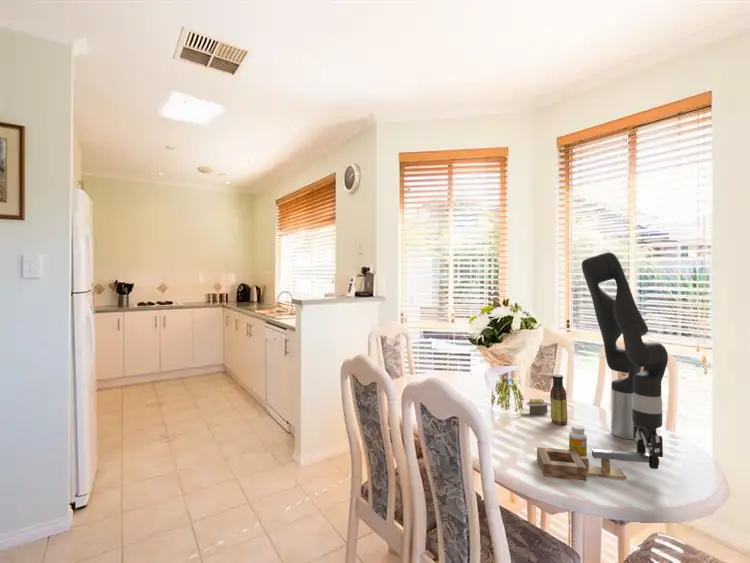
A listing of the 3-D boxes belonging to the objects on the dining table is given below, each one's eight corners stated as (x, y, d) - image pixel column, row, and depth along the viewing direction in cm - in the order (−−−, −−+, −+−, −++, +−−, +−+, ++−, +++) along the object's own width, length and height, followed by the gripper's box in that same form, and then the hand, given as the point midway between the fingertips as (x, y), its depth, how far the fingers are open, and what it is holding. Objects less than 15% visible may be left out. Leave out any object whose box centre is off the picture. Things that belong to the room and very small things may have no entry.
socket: (576, 462, 131) (576, 450, 131) (586, 481, 119) (586, 467, 119) (537, 458, 134) (537, 447, 134) (543, 476, 122) (543, 463, 122)
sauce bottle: (564, 420, 168) (564, 373, 168) (570, 425, 162) (569, 377, 162) (548, 419, 169) (548, 373, 169) (553, 425, 163) (553, 377, 162)
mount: (620, 471, 125) (620, 457, 125) (626, 479, 120) (626, 464, 120) (578, 467, 128) (578, 453, 128) (583, 475, 123) (583, 461, 123)
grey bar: (653, 459, 122) (654, 452, 122) (659, 464, 119) (659, 458, 119) (591, 454, 126) (591, 447, 126) (594, 459, 123) (594, 452, 123)
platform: (512, 410, 183) (512, 396, 183) (550, 409, 184) (550, 395, 184) (523, 419, 171) (523, 404, 171) (564, 418, 172) (564, 403, 172)
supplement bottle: (565, 453, 138) (565, 425, 138) (576, 450, 140) (576, 422, 140) (579, 459, 133) (579, 430, 133) (590, 456, 135) (590, 428, 135)
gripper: (673, 417, 113) (673, 474, 113) (650, 401, 127) (650, 452, 127) (643, 415, 114) (643, 471, 115) (624, 400, 128) (624, 450, 129)
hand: (647, 461), depth 121 cm, fingers open, 8 cm apart
